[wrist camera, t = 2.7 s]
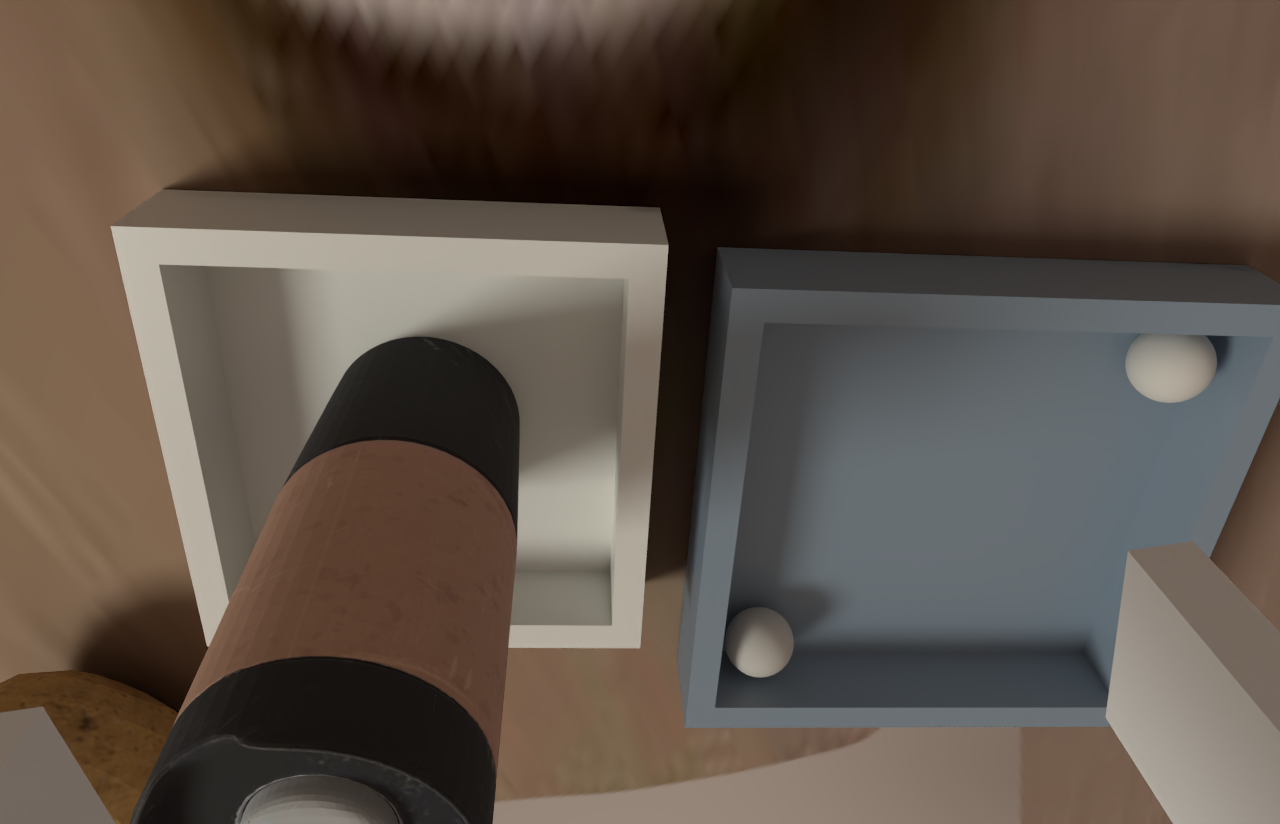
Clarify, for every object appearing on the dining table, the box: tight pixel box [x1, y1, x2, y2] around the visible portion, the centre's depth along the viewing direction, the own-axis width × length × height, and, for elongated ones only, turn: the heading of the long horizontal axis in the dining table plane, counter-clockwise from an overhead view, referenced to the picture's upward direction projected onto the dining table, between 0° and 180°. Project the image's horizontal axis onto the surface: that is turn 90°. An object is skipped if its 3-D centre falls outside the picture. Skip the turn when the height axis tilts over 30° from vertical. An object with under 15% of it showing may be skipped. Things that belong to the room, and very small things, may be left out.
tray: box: [111, 189, 669, 648], centre depth 35 cm, size 17×17×4 cm
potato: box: [0, 670, 178, 824], centre depth 41 cm, size 10×14×8 cm
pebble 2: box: [1125, 333, 1217, 403], centre depth 35 cm, size 3×3×3 cm
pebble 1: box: [725, 607, 794, 677], centre depth 41 cm, size 3×3×3 cm
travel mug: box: [130, 337, 520, 824], centre depth 28 cm, size 8×8×20 cm
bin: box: [677, 247, 1280, 728], centre depth 38 cm, size 20×20×4 cm
